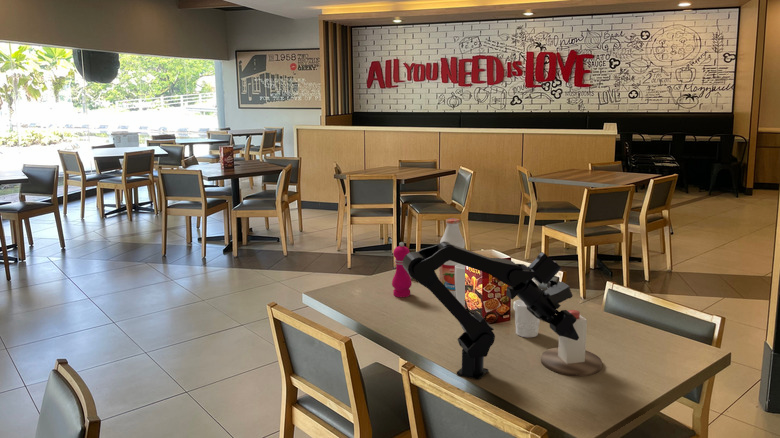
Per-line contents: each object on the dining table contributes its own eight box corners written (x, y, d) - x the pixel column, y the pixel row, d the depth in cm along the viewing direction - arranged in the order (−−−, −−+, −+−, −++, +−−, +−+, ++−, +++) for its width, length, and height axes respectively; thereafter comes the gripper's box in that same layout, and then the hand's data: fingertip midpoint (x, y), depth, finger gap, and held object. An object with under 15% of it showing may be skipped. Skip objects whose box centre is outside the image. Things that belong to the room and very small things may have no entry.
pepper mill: (389, 296, 228) (389, 243, 224) (395, 291, 234) (394, 239, 230) (408, 298, 226) (408, 244, 222) (413, 292, 232) (413, 240, 228)
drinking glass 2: (473, 311, 211) (473, 269, 208) (453, 310, 213) (453, 268, 210) (474, 305, 218) (475, 263, 215) (455, 304, 219) (455, 262, 216)
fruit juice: (457, 288, 237) (457, 216, 231) (469, 295, 228) (470, 220, 223) (434, 291, 233) (435, 218, 228) (446, 298, 225) (447, 222, 219)
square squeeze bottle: (584, 361, 168) (587, 314, 165) (566, 363, 167) (569, 315, 164) (575, 354, 173) (577, 308, 170) (558, 355, 172) (560, 309, 169)
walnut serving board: (592, 381, 160) (592, 376, 159) (532, 366, 168) (532, 362, 168) (608, 359, 173) (608, 354, 172) (552, 346, 181) (552, 343, 181)
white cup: (521, 327, 197) (522, 296, 195) (544, 332, 192) (545, 301, 190) (509, 334, 191) (510, 303, 189) (532, 340, 186) (533, 308, 184)
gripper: (571, 284, 155) (608, 323, 160) (538, 265, 173) (573, 300, 177) (540, 316, 155) (578, 354, 159) (511, 293, 173) (546, 328, 177)
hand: (569, 332), depth 168 cm, fingers open, 9 cm apart
